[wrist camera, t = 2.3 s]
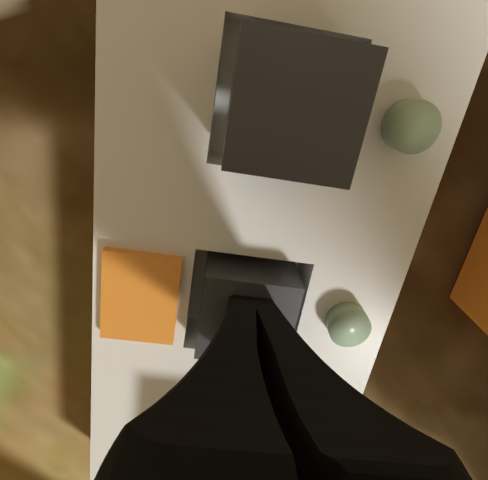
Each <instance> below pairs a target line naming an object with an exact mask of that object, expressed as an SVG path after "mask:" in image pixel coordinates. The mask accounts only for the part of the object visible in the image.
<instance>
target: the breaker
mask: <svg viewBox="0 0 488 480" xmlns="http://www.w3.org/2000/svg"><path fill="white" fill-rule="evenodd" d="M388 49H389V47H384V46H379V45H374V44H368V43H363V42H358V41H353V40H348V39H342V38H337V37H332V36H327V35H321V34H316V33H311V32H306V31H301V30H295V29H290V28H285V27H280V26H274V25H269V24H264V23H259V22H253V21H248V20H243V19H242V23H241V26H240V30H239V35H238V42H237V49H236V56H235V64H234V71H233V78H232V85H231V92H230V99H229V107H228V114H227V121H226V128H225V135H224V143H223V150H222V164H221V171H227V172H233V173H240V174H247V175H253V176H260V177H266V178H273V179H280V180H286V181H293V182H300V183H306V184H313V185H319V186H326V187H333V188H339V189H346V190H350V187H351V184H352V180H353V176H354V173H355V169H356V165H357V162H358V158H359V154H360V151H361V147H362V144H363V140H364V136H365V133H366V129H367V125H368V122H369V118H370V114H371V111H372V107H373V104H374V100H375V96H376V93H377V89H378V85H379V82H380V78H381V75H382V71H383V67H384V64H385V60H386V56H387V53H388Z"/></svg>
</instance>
